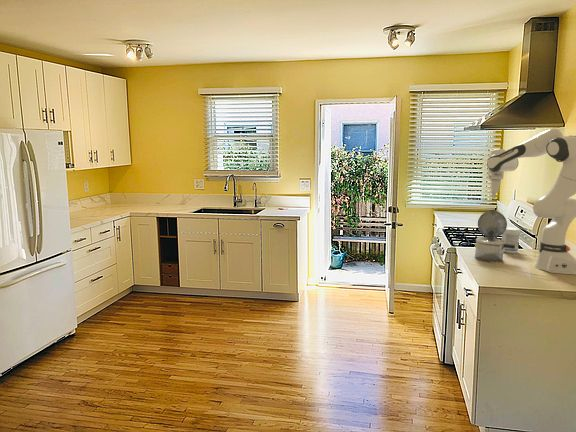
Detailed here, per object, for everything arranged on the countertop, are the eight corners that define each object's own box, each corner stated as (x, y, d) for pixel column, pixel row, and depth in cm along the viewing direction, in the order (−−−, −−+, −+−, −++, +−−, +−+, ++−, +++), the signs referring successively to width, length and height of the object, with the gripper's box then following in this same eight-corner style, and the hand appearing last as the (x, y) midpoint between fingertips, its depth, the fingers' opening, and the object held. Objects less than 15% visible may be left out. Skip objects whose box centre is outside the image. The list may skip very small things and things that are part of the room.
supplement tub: (520, 252, 287) (523, 229, 284) (510, 254, 283) (512, 230, 280) (507, 249, 296) (509, 226, 293) (497, 250, 291) (499, 227, 289)
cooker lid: (505, 239, 273) (505, 239, 276) (508, 211, 273) (508, 212, 276) (476, 236, 280) (476, 236, 283) (479, 209, 279) (479, 209, 282)
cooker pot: (512, 258, 273) (514, 240, 271) (513, 265, 259) (515, 246, 257) (475, 253, 282) (476, 236, 280) (473, 260, 268) (475, 241, 266)
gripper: (489, 173, 295) (487, 195, 298) (490, 176, 277) (488, 199, 279) (500, 174, 293) (497, 196, 296) (502, 177, 274) (499, 200, 277)
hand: (493, 197), depth 287 cm, fingers closed
